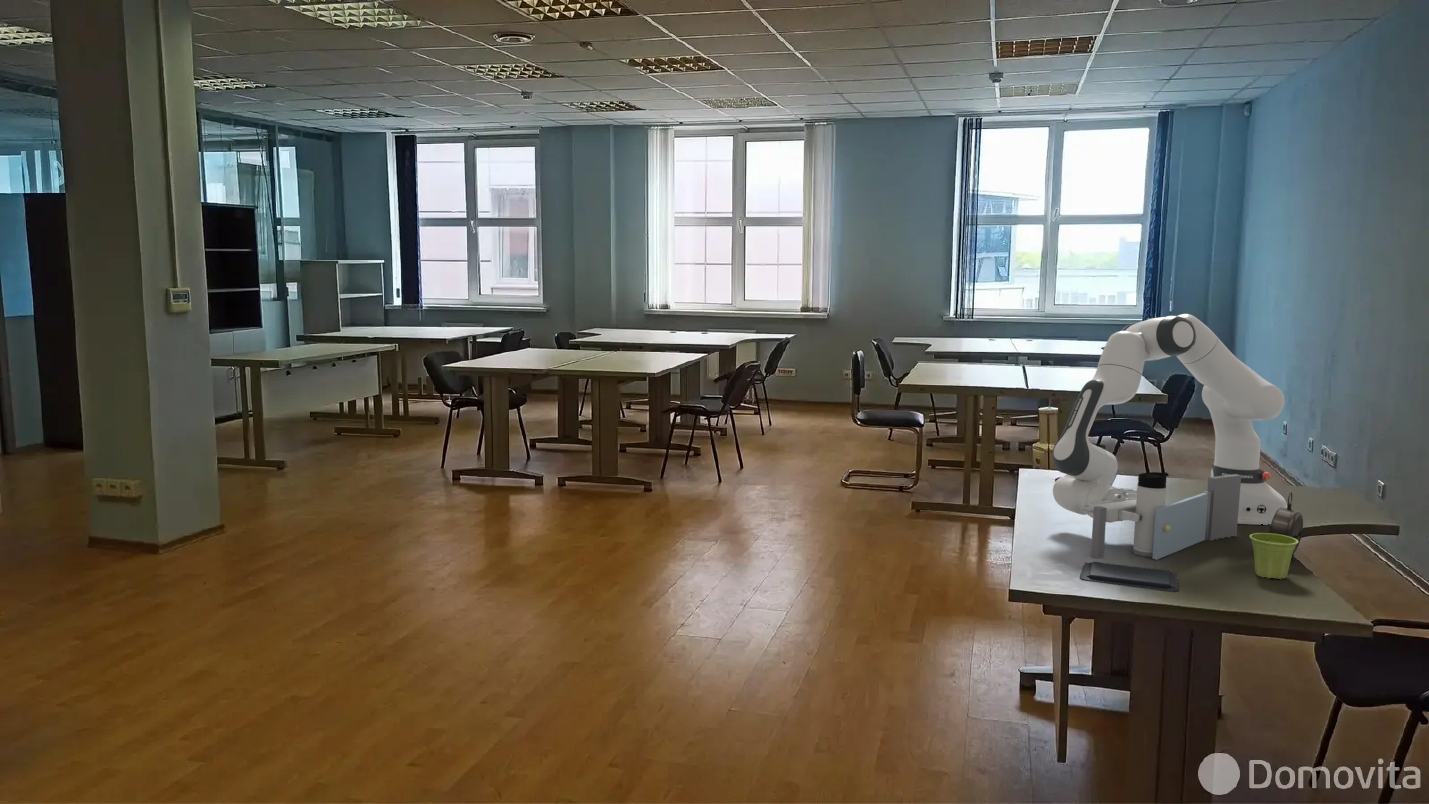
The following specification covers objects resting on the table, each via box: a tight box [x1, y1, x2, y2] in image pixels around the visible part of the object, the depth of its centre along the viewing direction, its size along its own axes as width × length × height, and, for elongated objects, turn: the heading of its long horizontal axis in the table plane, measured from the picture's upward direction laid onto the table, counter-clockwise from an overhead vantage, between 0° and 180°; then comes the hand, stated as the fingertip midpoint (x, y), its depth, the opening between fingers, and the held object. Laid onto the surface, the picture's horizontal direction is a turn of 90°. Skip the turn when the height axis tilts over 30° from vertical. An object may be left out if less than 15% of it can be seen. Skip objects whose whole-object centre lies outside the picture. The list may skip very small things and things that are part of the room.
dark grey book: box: [1079, 561, 1180, 593], centre depth 217 cm, size 20×2×15 cm
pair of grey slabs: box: [1090, 474, 1241, 559], centre depth 242 cm, size 49×2×16 cm, turn 116°
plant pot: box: [1249, 532, 1298, 579], centre depth 218 cm, size 9×9×9 cm
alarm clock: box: [1268, 491, 1304, 561], centre depth 232 cm, size 11×5×16 cm, turn 134°
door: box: [1151, 490, 1211, 561], centre depth 238 cm, size 29×2×12 cm, turn 132°
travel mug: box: [1132, 471, 1170, 558], centre depth 234 cm, size 6×7×20 cm
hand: (1154, 516), depth 233 cm, fingers open, 8 cm apart
